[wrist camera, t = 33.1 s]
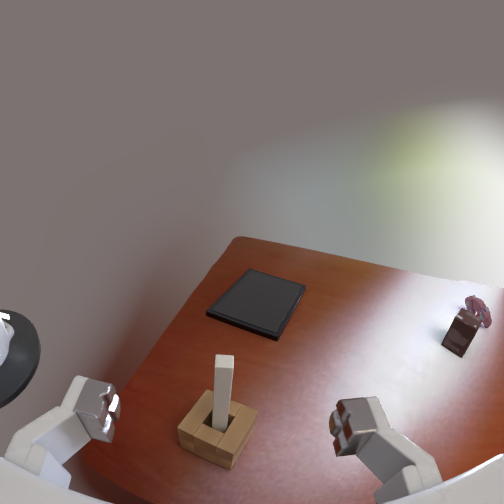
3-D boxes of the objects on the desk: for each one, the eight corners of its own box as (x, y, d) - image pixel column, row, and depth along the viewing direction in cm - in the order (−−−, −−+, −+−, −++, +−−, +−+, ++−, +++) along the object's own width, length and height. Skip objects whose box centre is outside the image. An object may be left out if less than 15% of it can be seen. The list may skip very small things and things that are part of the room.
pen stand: (180, 446, 29) (177, 427, 27) (206, 411, 35) (206, 389, 33) (230, 470, 27) (233, 454, 25) (253, 431, 33) (258, 410, 30)
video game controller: (460, 313, 65) (463, 294, 62) (471, 306, 64) (474, 287, 61) (480, 334, 56) (485, 315, 53) (492, 326, 56) (496, 307, 53)
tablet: (277, 341, 50) (278, 336, 49) (206, 315, 54) (206, 310, 53) (305, 289, 67) (306, 285, 66) (248, 272, 71) (249, 268, 71)
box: (468, 346, 50) (483, 319, 46) (461, 358, 46) (477, 330, 43) (448, 333, 54) (462, 307, 51) (440, 344, 51) (455, 316, 47)
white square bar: (211, 444, 30) (214, 366, 24) (212, 434, 31) (215, 353, 25) (224, 445, 30) (233, 368, 24) (225, 435, 31) (233, 355, 25)
